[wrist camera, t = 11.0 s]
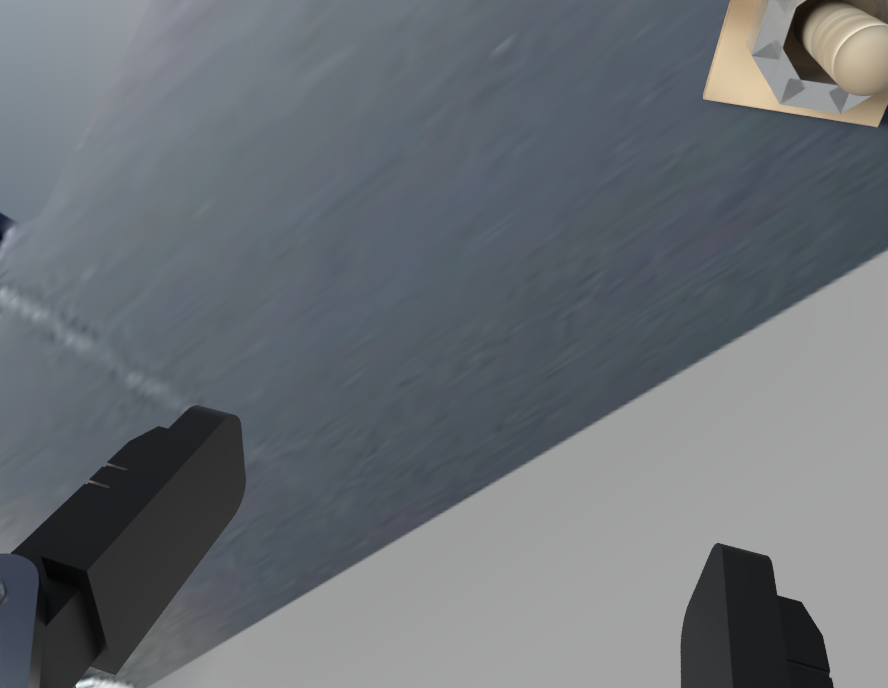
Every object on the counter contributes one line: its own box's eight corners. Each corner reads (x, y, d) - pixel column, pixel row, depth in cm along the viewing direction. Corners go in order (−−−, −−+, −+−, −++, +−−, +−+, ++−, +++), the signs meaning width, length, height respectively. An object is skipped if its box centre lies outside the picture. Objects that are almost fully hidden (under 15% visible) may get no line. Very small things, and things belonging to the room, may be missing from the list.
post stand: (756, -92, 31) (792, -95, 21) (954, -70, 29) (1094, -62, 19) (702, 94, 35) (711, 166, 25) (873, 121, 34) (953, 208, 24)
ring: (777, -62, 30) (787, -59, 27) (927, -45, 29) (954, -40, 26) (733, 82, 34) (738, 98, 31) (866, 102, 32) (884, 120, 30)
